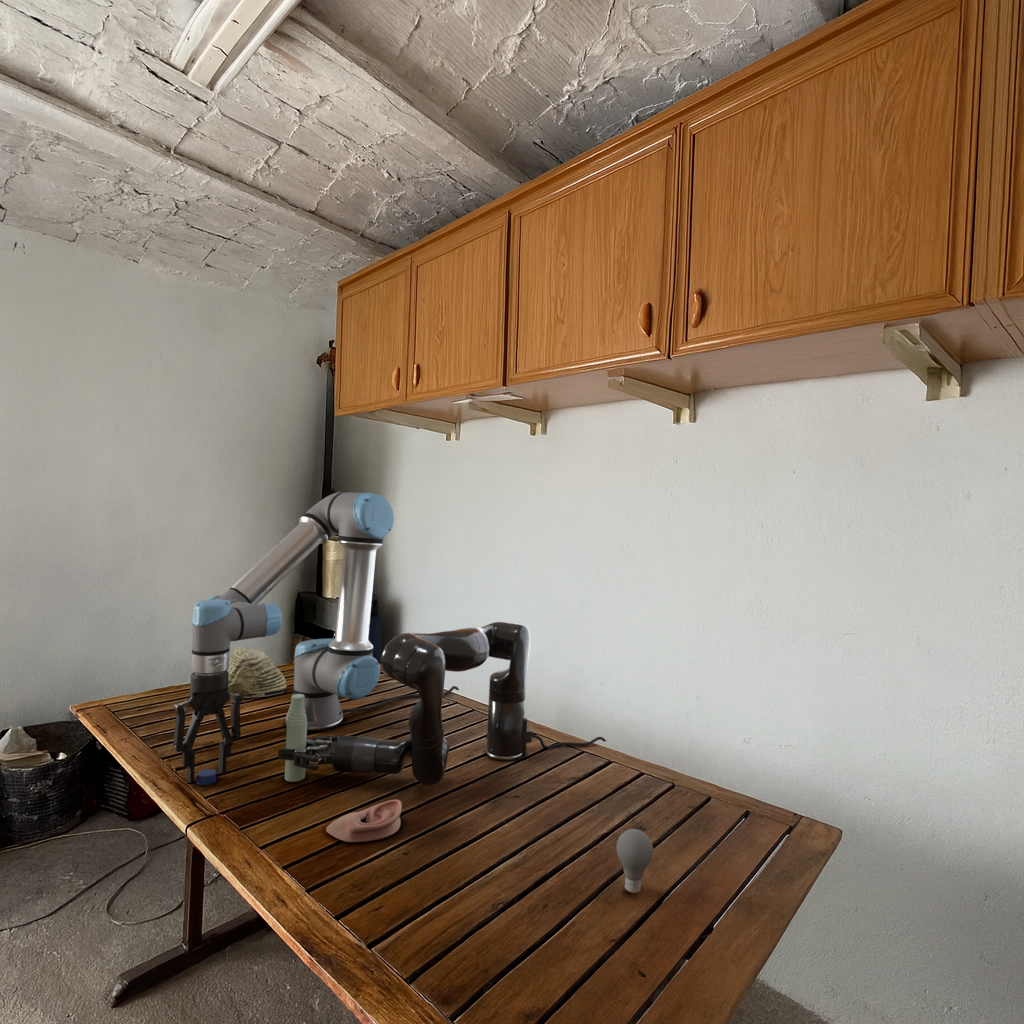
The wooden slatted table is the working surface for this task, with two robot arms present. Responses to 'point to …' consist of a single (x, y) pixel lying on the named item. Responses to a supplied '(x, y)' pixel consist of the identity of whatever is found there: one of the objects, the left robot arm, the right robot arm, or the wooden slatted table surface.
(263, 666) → the fossil
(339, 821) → the anatomical model
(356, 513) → the left robot arm
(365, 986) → the wooden slatted table surface
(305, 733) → the bottle
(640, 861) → the light bulb
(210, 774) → the cap
